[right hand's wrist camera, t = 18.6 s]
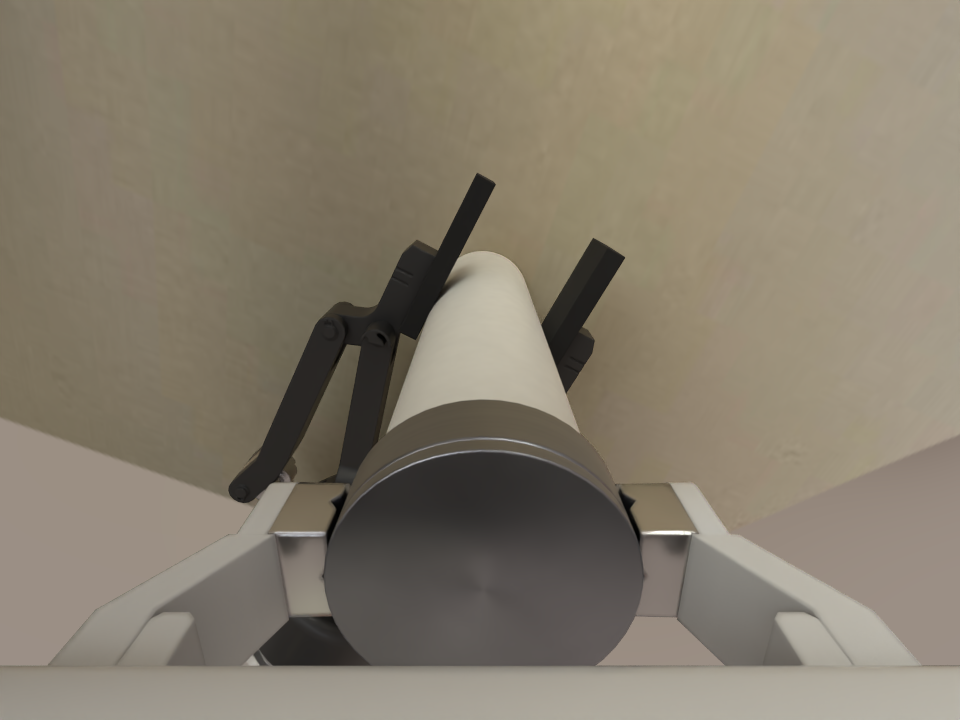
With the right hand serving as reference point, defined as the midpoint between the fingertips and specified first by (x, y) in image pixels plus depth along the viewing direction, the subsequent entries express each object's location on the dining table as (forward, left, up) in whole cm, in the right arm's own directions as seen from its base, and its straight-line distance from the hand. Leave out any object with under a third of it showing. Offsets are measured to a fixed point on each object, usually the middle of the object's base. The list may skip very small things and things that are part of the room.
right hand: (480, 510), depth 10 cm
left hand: (0, +5, -12) cm, 13 cm away
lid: (0, 0, +2) cm, 2 cm away
